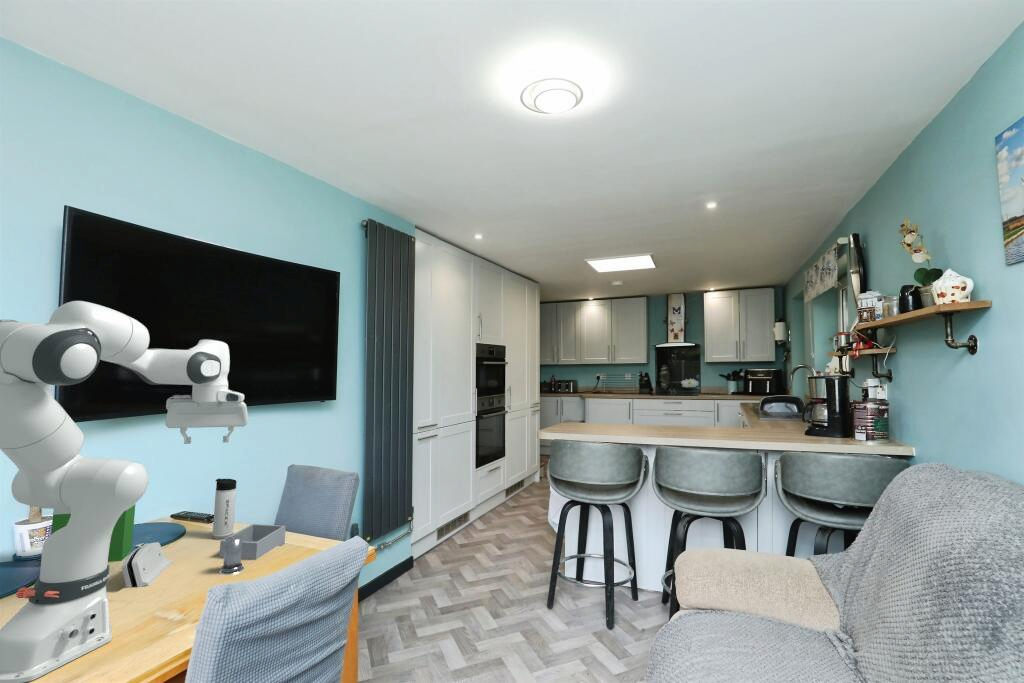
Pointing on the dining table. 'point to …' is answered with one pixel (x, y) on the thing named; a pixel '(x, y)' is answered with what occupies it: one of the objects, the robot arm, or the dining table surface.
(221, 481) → the travel mug
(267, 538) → the bin
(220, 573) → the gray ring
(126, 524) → the hardback book
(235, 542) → the grey knob
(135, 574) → the white curved housing
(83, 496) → the robot arm
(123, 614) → the dining table surface
